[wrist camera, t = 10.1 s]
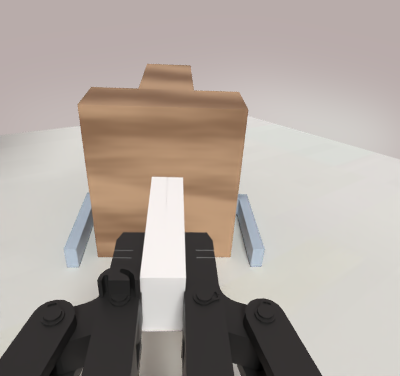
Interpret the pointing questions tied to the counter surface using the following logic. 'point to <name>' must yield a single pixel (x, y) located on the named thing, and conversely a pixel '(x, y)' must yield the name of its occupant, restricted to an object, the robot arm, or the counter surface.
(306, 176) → the counter surface
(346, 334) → the counter surface
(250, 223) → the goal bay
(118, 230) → the tee block
